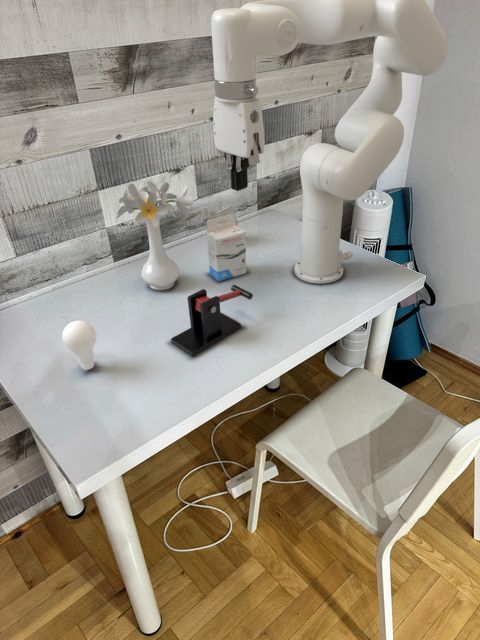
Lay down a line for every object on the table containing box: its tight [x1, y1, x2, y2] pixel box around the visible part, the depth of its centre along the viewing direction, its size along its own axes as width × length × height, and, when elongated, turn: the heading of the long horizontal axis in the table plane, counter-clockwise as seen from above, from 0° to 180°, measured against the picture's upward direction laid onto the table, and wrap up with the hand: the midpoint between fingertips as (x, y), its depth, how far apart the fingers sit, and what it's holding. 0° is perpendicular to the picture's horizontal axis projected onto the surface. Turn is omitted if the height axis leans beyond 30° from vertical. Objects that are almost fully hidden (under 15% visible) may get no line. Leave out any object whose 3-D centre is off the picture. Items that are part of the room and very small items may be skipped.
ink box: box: [206, 213, 247, 282], centre depth 126 cm, size 8×5×15 cm, turn 123°
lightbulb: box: [61, 320, 97, 371], centre depth 98 cm, size 6×6×11 cm
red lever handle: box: [195, 284, 254, 312], centre depth 108 cm, size 13×6×2 cm, turn 136°
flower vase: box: [114, 180, 194, 291], centre depth 120 cm, size 13×18×25 cm
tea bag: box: [212, 205, 239, 227], centre depth 142 cm, size 4×7×10 cm, turn 140°
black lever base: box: [170, 288, 242, 358], centre depth 106 cm, size 14×7×10 cm, turn 136°
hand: (239, 188), depth 104 cm, fingers closed
